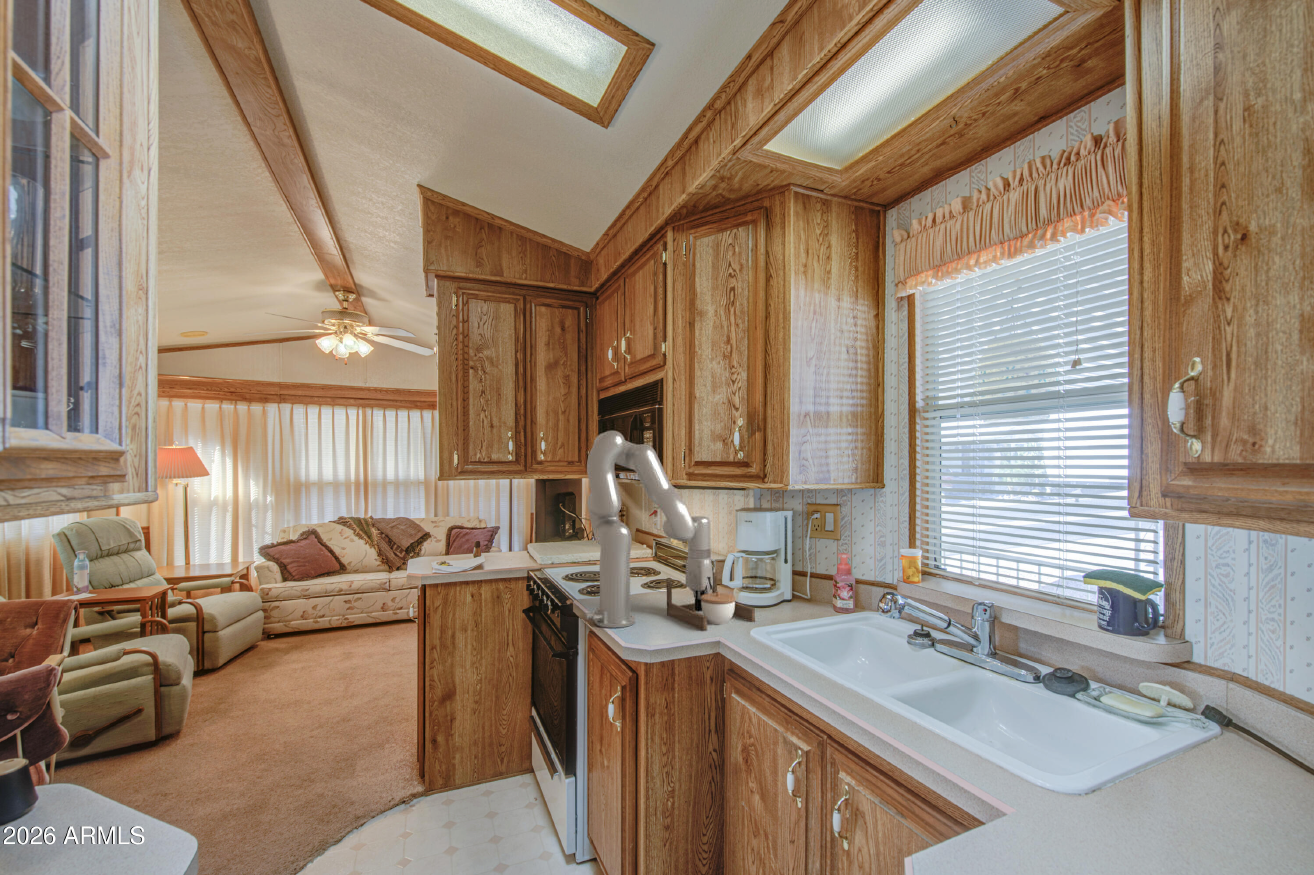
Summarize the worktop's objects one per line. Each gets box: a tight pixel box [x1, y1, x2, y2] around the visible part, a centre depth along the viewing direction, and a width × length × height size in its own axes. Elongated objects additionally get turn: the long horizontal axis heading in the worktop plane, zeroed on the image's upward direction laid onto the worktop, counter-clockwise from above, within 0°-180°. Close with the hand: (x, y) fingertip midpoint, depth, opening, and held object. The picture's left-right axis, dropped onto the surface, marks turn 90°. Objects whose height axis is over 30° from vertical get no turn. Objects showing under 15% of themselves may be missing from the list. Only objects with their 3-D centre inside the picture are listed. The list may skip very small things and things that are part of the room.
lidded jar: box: [701, 590, 736, 625], centre depth 174 cm, size 11×11×9 cm
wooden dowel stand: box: [666, 571, 756, 632], centre depth 178 cm, size 19×21×12 cm
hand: (700, 610), depth 183 cm, fingers closed
